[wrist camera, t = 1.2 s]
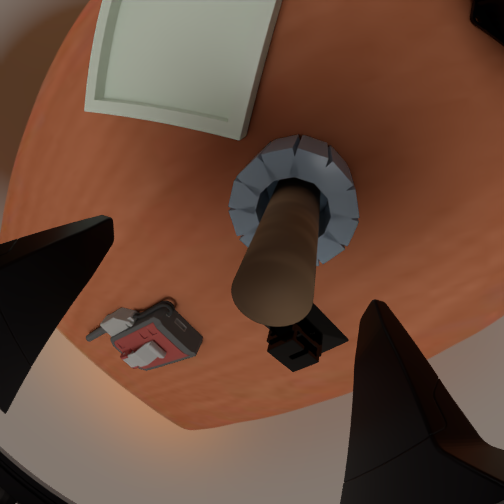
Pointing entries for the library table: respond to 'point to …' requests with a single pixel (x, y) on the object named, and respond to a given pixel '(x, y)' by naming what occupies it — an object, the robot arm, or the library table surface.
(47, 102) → the library table surface
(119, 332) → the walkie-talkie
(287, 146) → the ring
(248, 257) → the dowel
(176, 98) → the tray
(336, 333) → the black angular piece
